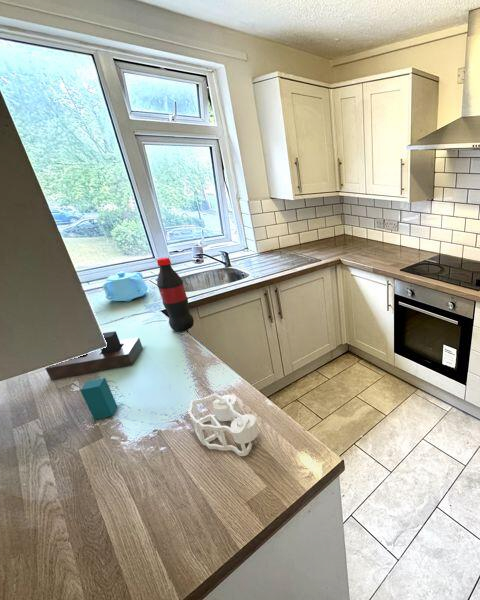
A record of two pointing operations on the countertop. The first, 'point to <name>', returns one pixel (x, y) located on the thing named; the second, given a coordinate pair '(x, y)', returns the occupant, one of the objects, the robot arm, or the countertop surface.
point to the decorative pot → (124, 286)
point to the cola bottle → (174, 296)
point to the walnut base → (97, 361)
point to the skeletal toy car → (224, 410)
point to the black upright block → (111, 342)
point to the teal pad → (99, 398)
